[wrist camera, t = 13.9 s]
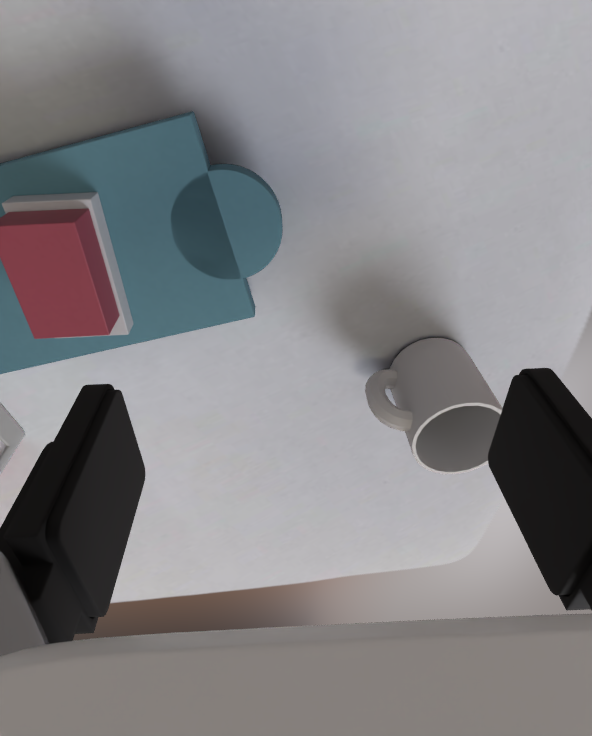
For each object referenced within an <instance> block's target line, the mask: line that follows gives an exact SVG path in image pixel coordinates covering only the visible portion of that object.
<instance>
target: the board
mask: <svg viewBox="0 0 592 736" xmlns="http://www.w3.org/2000/svg"><path fill="white" fill-rule="evenodd" d="M89 192H98V195H99V198H100V202H101V206H102V209H103V213H104V217H105V220H106V224H107V228H108V231H109V235H110V239H111V242H112V246H113V250H114V253H115V257H116V261H117V264H118V268H119V272H120V276H121V279H122V283H123V287H124V290H125V294H126V298H127V301H128V305H129V309H130V312H131V316H132V320H133V323H134V324H133V326H132V328H131V330H130V332H129V334H128V335H110V336H91V337H72V338H43V339H34V337H33V334H32V332H31V329H30V327H29V325H28V322H27V320H26V318H25V315H24V313H23V311H22V308H21V306H20V304H19V301H18V299H17V296H16V294H15V292H14V289H13V287H12V285H11V282H10V280H9V278H8V275H7V273H6V270H5V268H4V266H3V263H2V261H1V259H0V374H3V373H7V372H12V371H16V370H21V369H25V368H29V367H34V366H38V365H43V364H47V363H52V362H56V361H60V360H65V359H69V358H74V357H78V356H83V355H87V354H91V353H96V352H100V351H105V350H109V349H114V348H118V347H122V346H127V345H131V344H136V343H140V342H145V341H149V340H153V339H158V338H162V337H167V336H171V335H176V334H180V333H184V332H189V331H193V330H198V329H202V328H207V327H211V326H215V325H220V324H224V323H229V322H233V321H238V320H242V319H246V318H251V317H255V304H254V301H253V298H252V295H251V292H250V288H249V285H248V282H247V279H246V277H249V276H251V275H254V274H256V273H257V272H259V271H261V270H262V269H263V268H264V267H266V266H267V265H268V264H269V263H270V262H271V260H272V259H273V258H274V256H275V254H276V253H277V251H278V248H279V246H280V243H281V238H282V214H281V209H280V205H279V202H278V200H277V198H276V196H275V194H274V192H273V191H272V189H271V188H270V186H269V185H268V184H267V183H266V182H265V181H264V180H263V179H262V178H261V177H260V176H258V175H257V174H256V173H254V172H252V171H250V170H249V169H246V168H244V167H241V166H237V165H232V164H216V165H210V162H209V159H208V155H207V152H206V149H205V146H204V143H203V140H202V136H201V133H200V130H199V127H198V124H197V121H196V118H195V114H194V112H193V111H192V112H188V113H184V114H181V115H177V116H173V117H170V118H166V119H162V120H159V121H155V122H151V123H147V124H144V125H140V126H136V127H133V128H129V129H125V130H122V131H118V132H114V133H111V134H107V135H103V136H100V137H96V138H92V139H89V140H85V141H81V142H78V143H74V144H70V145H67V146H63V147H59V148H56V149H52V150H48V151H44V152H41V153H37V154H33V155H30V156H26V157H22V158H19V159H15V160H11V161H8V162H4V163H0V218H1V217H2V216H4V215H5V214H6V213H5V211H4V208H3V206H2V203H3V202H5V201H6V200H8V199H10V198H11V197H13V196H25V195H46V194H67V193H89Z"/></svg>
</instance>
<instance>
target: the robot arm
mask: <svg viewBox="0 0 592 736" xmlns="http://www.w3.org/2000/svg"><path fill="white" fill-rule="evenodd" d="M488 463H489V467H490V469H491V471H492V473H493V475H494V477H495V479H496V481H497V483H498V485H499V487H500V489H501V492H502V494H503V496H504V498H505V500H506V502H507V504H508V506H509V508H510V510H511V512H512V514H513V516H514V518H515V520H516V522H517V524H518V526H519V528H520V530H521V532H522V534H523V536H524V538H525V540H526V542H527V544H528V547H529V549H530V551H531V553H532V555H533V557H534V559H535V561H536V563H537V565H538V567H539V569H540V571H541V573H542V575H543V577H544V579H545V581H546V583H547V585H548V587H549V589H550V591H551V592H552V593H553V594H555V595H559V597H560V599H561V601H562V603H563V605H564V606H565V608H566V610H584V609H591V610H592V418H591V417H590V416H589V415H588V413H587V412H586V411H585V410H584V409H583V407H582V406H581V405H580V404H579V402H578V401H577V400H576V399H575V397H574V396H573V395H572V394H571V392H570V391H569V390H568V389H567V388H566V386H565V385H564V384H563V383H562V381H561V380H560V379H559V378H558V376H557V375H556V374H555V373H554V372H553V371H552V370H551V369H549V368H535V369H523V370H522V371H521V372H520V374H519V375H516V376H514V377H513V379H512V382H511V385H510V388H509V391H508V394H507V397H506V400H505V403H504V406H503V409H502V412H501V415H500V418H499V421H498V424H497V427H496V430H495V433H494V437H493V440H492V443H491V446H490V449H489V452H488ZM144 481H145V467H144V463H143V460H142V457H141V453H140V450H139V447H138V444H137V440H136V437H135V434H134V431H133V427H132V424H131V421H130V418H129V414H128V411H127V408H126V405H125V401H124V398H123V395H122V393H121V391H120V390H114V388H113V386H112V385H110V384H98V385H85V386H83V388H82V389H81V391H80V393H79V395H78V397H77V399H76V401H75V402H74V404H73V406H72V408H71V410H70V412H69V414H68V416H67V417H66V419H65V421H64V423H63V425H62V427H61V429H60V431H59V433H58V434H57V436H56V438H55V440H54V442H50V443H49V444H47V445H46V447H45V448H44V449H43V451H42V453H41V455H40V456H39V458H38V460H37V462H36V464H35V466H34V467H33V469H32V471H31V473H30V475H29V477H28V478H27V480H26V482H25V484H24V486H23V488H22V489H21V491H20V493H19V495H18V497H17V499H16V500H15V502H14V504H13V506H12V508H11V510H10V511H9V513H8V515H7V517H6V519H5V521H4V522H3V524H2V526H1V528H0V736H592V614H563V615H534V616H512V617H511V616H510V617H488V618H463V619H442V620H441V619H440V620H418V621H397V622H376V623H355V624H335V625H316V626H315V625H314V626H294V627H274V628H255V629H237V630H219V631H200V632H180V633H165V634H150V635H136V636H121V637H107V638H94V639H85V640H77V641H73V637H74V634H82V633H94V630H95V627H96V623H97V620H98V617H103V616H104V615H105V614H106V612H107V610H108V608H109V604H110V601H111V597H112V594H113V590H114V587H115V583H116V580H117V576H118V573H119V569H120V566H121V562H122V559H123V555H124V552H125V548H126V544H127V541H128V537H129V534H130V530H131V527H132V523H133V520H134V516H135V513H136V509H137V506H138V502H139V499H140V495H141V492H142V488H143V485H144Z"/></svg>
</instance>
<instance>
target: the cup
mask: <svg viewBox="0 0 592 736" xmlns="http://www.w3.org/2000/svg"><path fill="white" fill-rule="evenodd" d="M385 389H391V392H392V395H393V397H394V400H395V403H396V406H397V407H396V406H394V405H393V404H392V403H391V402H390V400H389V399H388V397H387V395H386V393H385ZM365 392H366V397H367V401H368V404H369V407H370V409H371V411H372V412H373V414H374V415H375V416H376V417H377V418H378V419H379V421H380V422H382V423H383V424H385V425H387V426H388V427H390V428H393V429H396V430H400V431H405V433H406V435H407V438H408V441H409V444H410V447H411V450H412V453H413V456H414V457H415V459H416V461H417V462H418V463H419V464H420V465H421V466H422V467H424V468H425V469H427V470H430V471H432V472H435V473H441V474H459V473H464V472H469V471H472V470H475V469H477V468H480V467H482V466H484V465H485V464H487V463H488V452H489V449H490V446H491V443H492V440H493V437H494V433H495V430H496V427H497V424H498V421H499V418H500V415H501V412H502V409H503V408H502V407H501V405H500V404H499V402H498V400H497V399H496V397H495V396H494V394H493V392H492V391H491V389H490V388H489V386H488V385H487V383H486V381H485V380H484V378H483V377H482V375H481V373H480V372H479V370H478V369H477V367H476V365H475V364H474V362H473V361H472V359H471V357H470V356H469V354H468V353H467V352H466V351H465V350H464V349H463V347H462V346H461V345H459V344H458V343H456V342H454V341H452V340H448V339H444V338H428V339H423V340H419V341H417V342H415V343H413V344H411V345H409V346H408V347H406V348H405V349H404V350H402V351H401V352H400V353H399V355H398V356H397V357H396V358H395V359H394V361H393V363H392V365H391V367H390V370H388V369H387V370H379V371H378V372H376V373H374V374H373V375H372V376H371V377H370V378H369V379H368V381H367V383H366V390H365Z"/></svg>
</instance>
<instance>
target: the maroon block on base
mask: <svg viewBox="0 0 592 736" xmlns="http://www.w3.org/2000/svg"><path fill="white" fill-rule="evenodd" d="M2 206H3V208H4V211H5V213H6V214H5V215H4V216H2V217H1V218H0V259H1V261H2V263H3V266H4V268H5V270H6V273H7V275H8V278H9V280H10V282H11V285H12V287H13V289H14V292H15V294H16V296H17V299H18V301H19V304H20V306H21V308H22V311H23V313H24V315H25V318H26V320H27V322H28V325H29V327H30V329H31V332H32V334H33V337H34V339H43V338H72V337H91V336H110V335H128V334H129V332H130V330H131V328H132V326H133V324H134V323H133V320H132V316H131V312H130V309H129V305H128V301H127V298H126V294H125V290H124V287H123V283H122V279H121V276H120V272H119V268H118V264H117V261H116V257H115V253H114V250H113V246H112V242H111V239H110V235H109V231H108V228H107V224H106V220H105V217H104V213H103V209H102V206H101V202H100V198H99V195H98V192H89V193H67V194H46V195H25V196H13V197H11V198H10V199H8V200H6V201H5V202H3V203H2Z"/></svg>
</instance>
